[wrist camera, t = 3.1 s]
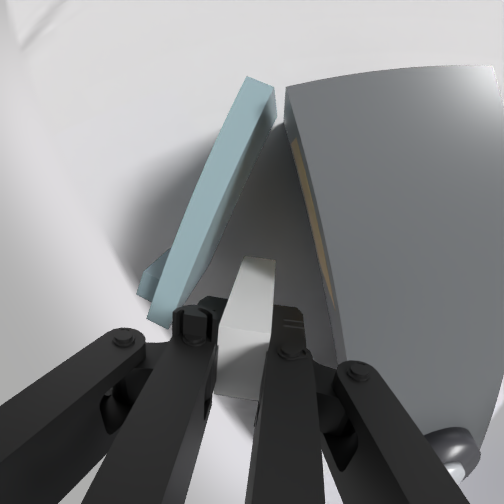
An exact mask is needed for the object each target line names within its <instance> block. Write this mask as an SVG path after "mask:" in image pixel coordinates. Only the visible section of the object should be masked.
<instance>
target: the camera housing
mask: <svg viewBox="0 0 504 504" xmlns="http://www.w3.org/2000/svg"><path fill="white" fill-rule="evenodd" d="M284 125H285V129H286V133H287V136H288V140H289V143H290V147H291V151H292V154H293V158H294V162H295V166H296V170H297V173H298V177H299V181H300V185H301V189H302V193H303V197H304V201H305V205H306V210H307V214H308V218H309V222H310V227H311V231H312V235H313V240H314V244H315V249H316V253H317V258H318V262H319V267H320V272H321V277H322V281H323V286H324V291H325V296H326V301H327V307H328V312H329V317H330V322H331V328H332V333H333V339H334V345H335V351H336V356H337V363H338V365H339V364H341V363H342V362H344V361H349V360H355V361H361V362H365V363H367V364H369V365H371V366H373V367H374V368H375V369H376V370H377V371H378V372H379V374H380V375H381V377H382V378H383V379H384V381H385V382H386V383H387V385H388V386H389V388H390V389H391V390H392V392H393V393H394V395H395V396H396V397H397V399H398V400H399V401H400V403H401V404H402V406H403V407H404V408H405V410H406V411H407V413H408V414H409V415H410V417H411V418H412V420H413V421H414V423H415V424H416V425H417V427H418V428H419V430H420V431H421V432H422V434H423V435H424V437H425V438H426V440H427V441H428V443H429V444H430V445H431V447H432V448H433V450H434V451H435V453H436V454H437V456H438V457H439V458H440V460H441V461H442V463H443V464H444V466H445V467H446V469H447V470H448V472H449V473H450V475H451V476H452V478H453V479H454V481H455V482H456V484H457V485H458V484H459V483H460V482H461V481H462V480H464V479H465V478H466V477H468V475H469V474H470V473H471V472H472V471H473V470H474V469H475V467H476V466H477V464H478V462H479V460H480V455H481V454H480V448H481V445H482V442H483V440H484V437H485V434H486V432H487V428H488V426H489V423H490V420H491V417H492V414H493V411H494V408H495V404H496V401H497V397H498V394H499V390H500V387H501V383H502V379H503V375H504V105H503V101H502V97H501V93H500V89H499V86H498V82H497V79H496V75H495V72H494V69H493V66H485V65H450V66H426V67H411V68H400V69H390V70H381V71H372V72H365V73H358V74H351V75H345V76H338V77H333V78H327V79H322V80H316V81H311V82H306V83H302V84H297V85H292V86H288V87H286V92H285V108H284Z"/></svg>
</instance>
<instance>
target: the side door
mask: <svg viewBox="0 0 504 504" xmlns="http://www.w3.org/2000/svg"><path fill="white" fill-rule="evenodd" d="M276 118H277V109H276V100H275V90H274V87H272V86H270V85H268V84H265V83H263V82H260V81H258V80H255V79H253V78H250V77H248V76H247V77H246V79H245V81H244V83H243V85H242V87H241V89H240V91H239V93H238V95H237V97H236V99H235V101H234V103H233V105H232V107H231V109H230V111H229V113H228V115H227V118H226V120H225V122H224V124H223V126H222V128H221V130H220V133H219V135H218V137H217V139H216V141H215V144H214V146H213V148H212V150H211V153H210V155H209V157H208V159H207V162H206V164H205V166H204V169H203V171H202V173H201V176H200V178H199V180H198V183H197V185H196V187H195V190H194V192H193V195H192V197H191V199H190V202H189V204H188V207H187V209H186V212H185V214H184V217H183V219H182V222H181V224H180V227H179V229H178V232H177V235H176V237H175V240H174V242H173V245H172V247H171V248H170V249H168V250H167V251H166V252H165V253H164V254H163V255H162V256H160V257H159V258H158V259H157V260H156V261H155V262H154V263H153V264H151V265H150V266H149V267H148V268H147V269H146V270H145V271H144V272H143V275H142V278H141V281H140V284H139V287H138V290H137V295H139V296H141V297H142V298H144V299H146V300H148V301H150V302H152V304H151V307H150V309H149V312H148V315H147V319H148V320H150V321H152V322H154V323H156V324H158V325H160V326H162V327H164V328H166V329H169V327H170V325H171V324H172V312H173V311H174V310H175V309H176V308H179V307H182V306H183V305H184V303H185V302H186V300H187V298H188V297H189V295H190V294H191V292H192V291H193V289H194V287H195V286H196V284H197V283H198V281H199V280H200V278H201V277H202V275H203V274H204V272H205V270H206V269H207V267H208V266H209V264H210V261H211V259H212V257H213V255H214V252H215V250H216V248H217V246H218V243H219V241H220V239H221V236H222V234H223V232H224V230H225V228H226V225H227V223H228V221H229V219H230V216H231V214H232V212H233V210H234V208H235V205H236V203H237V201H238V199H239V197H240V194H241V192H242V190H243V188H244V186H245V184H246V181H247V179H248V177H249V175H250V173H251V171H252V168H253V166H254V164H255V162H256V160H257V158H258V156H259V154H260V151H261V149H262V147H263V145H264V143H265V141H266V139H267V137H268V135H269V133H270V131H271V128H272V126H273V124H274V122H275V120H276Z"/></svg>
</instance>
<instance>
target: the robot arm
mask: <svg viewBox="0 0 504 504" xmlns="http://www.w3.org/2000/svg"><path fill="white" fill-rule="evenodd" d="M275 266H276V260H271V259H264V258H256V257H249V256H244V258H243V261H242V264H241V266H240V269H239V272H238V275H237V277H236V280H235V283H234V286H233V288H232V291H231V294H230V297H229V299H224V298H218V297H211V296H207V297H205V298H204V299H202V300H200V301H199V303H198V305H187V306H182V307H179V308H176V309H175V310H174V311H173V312H172V337H171V339H170V341H168V342H163V343H146V342H145V337H144V335H143V334H142V333H141V332H139V331H138V330H135V329H131V328H118V329H113V330H111V331H109V332H107V333H106V334H104V335H103V336H101V337H100V338H98V339H97V340H95V341H94V342H93V343H91V344H89V345H88V346H86V347H85V348H83V349H82V350H81V351H79V352H78V353H76V354H75V355H73V356H72V357H70V358H69V359H67V360H66V361H64V362H63V363H62V364H60V365H59V366H57V367H56V368H54V369H53V370H51V371H50V372H49V373H47V374H46V375H44V376H43V377H41V378H40V379H38V380H37V381H35V382H34V383H33V384H31V385H30V386H28V387H27V388H25V389H24V390H23V391H21V392H20V393H18V394H17V395H15V396H14V397H12V398H11V399H10V400H8V401H7V402H5V403H4V404H3V405H1V406H0V504H58V503H59V502H60V501H61V500H62V499H63V498H64V497H65V496H66V495H67V494H68V493H69V492H70V491H71V490H72V489H73V488H74V487H75V486H76V485H77V484H78V483H79V482H80V480H81V479H83V477H85V476H86V475H87V474H88V472H89V471H90V470H91V469H92V468H93V467H94V466H95V465H96V464H97V463H98V462H99V461H100V460H101V459H102V458H103V457H104V456H105V455H106V454H107V455H106V457H105V459H104V461H103V462H102V465H101V467H100V468H99V470H98V472H97V474H96V476H95V478H94V480H93V481H92V483H91V485H90V487H89V489H88V491H87V493H86V495H85V497H84V499H83V501H82V503H81V504H184V503H185V499H186V495H187V492H188V488H189V485H190V481H191V477H192V473H193V470H194V467H195V463H196V459H197V456H198V452H199V449H200V445H201V442H202V438H203V434H204V431H205V427H206V423H207V420H208V416H209V413H210V409H211V406H212V393H213V390H214V394H216V395H222V396H228V397H234V398H241V399H248V400H255V401H259V402H258V407H257V413H256V418H255V423H254V427H255V429H254V438H253V445H252V453H251V461H250V469H249V476H248V484H247V491H246V498H245V504H325V494H324V478H323V464H322V452H323V454H324V457H325V459H326V462H327V464H328V467H329V469H330V472H331V474H332V477H333V479H334V482H335V484H336V487H337V489H338V492H339V494H340V496H341V499H342V501H343V504H470V503H469V502H468V500H467V499H466V497H465V496H464V494H463V493H462V491H461V489H460V488H459V486H458V485H457V484H456V482H455V481H454V479H453V478H452V476H451V475H450V473H449V472H448V470H447V469H446V467H445V466H444V464H443V463H442V461H441V460H440V458H439V457H438V456H437V454H436V453H435V451H434V450H433V448H432V447H431V445H430V444H429V443H428V441H427V440H426V438H425V437H424V435H423V434H422V432H421V431H420V430H419V428H418V427H417V425H416V424H415V423H414V421H413V420H412V418H411V417H410V415H409V414H408V413H407V411H406V410H405V408H404V407H403V406H402V404H401V403H400V401H399V400H398V399H397V397H396V396H395V395H394V393H393V392H392V390H391V389H390V388H389V386H388V385H387V383H386V382H385V381H384V379H383V378H382V377H381V375H380V374H379V372H378V371H377V370H376V369H375V368H374V367H373V366H371V365H369V364H367V363H365V362H361V361H355V360H349V361H344V362H342V363H341V364H339V365H338V367H337V370H336V369H332V368H329V367H325V366H323V365H320V364H318V363H317V362H315V361H314V360H313V359H312V355H311V352H310V351H309V350H308V349H307V348H306V340H305V331H304V323H303V314H302V313H301V312H300V311H299V310H298V308H296V307H288V306H281V305H273V298H274V282H275ZM321 449H322V451H321Z"/></svg>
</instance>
